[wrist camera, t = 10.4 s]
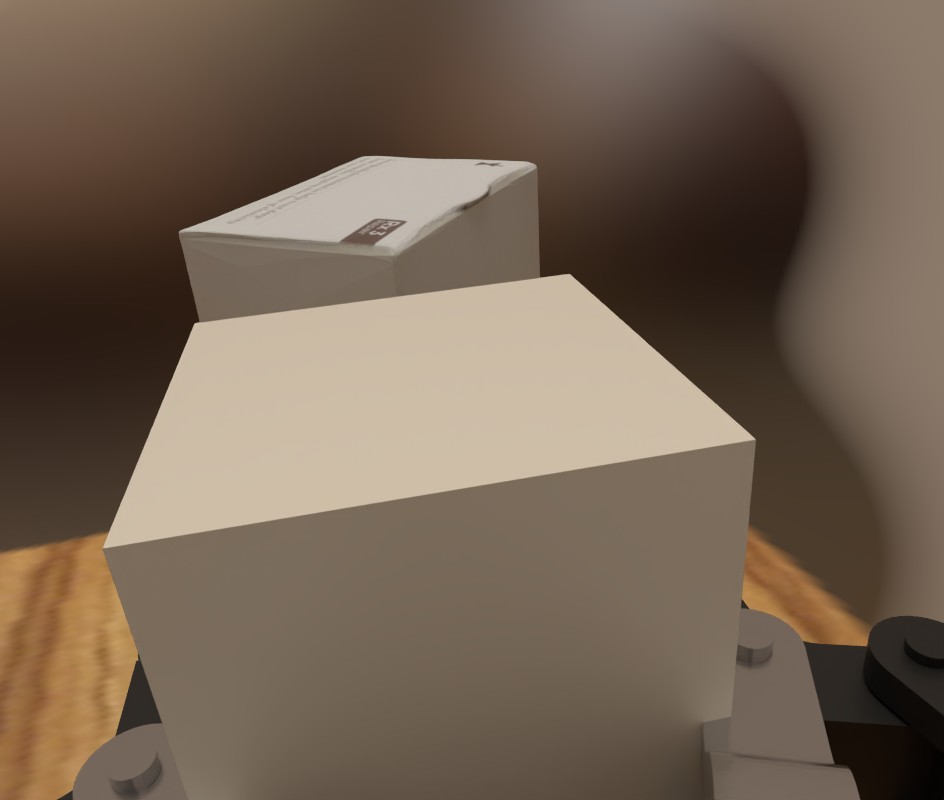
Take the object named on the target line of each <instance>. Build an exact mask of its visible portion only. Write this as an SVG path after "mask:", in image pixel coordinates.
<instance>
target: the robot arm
mask: <svg viewBox="0 0 944 800" xmlns="http://www.w3.org/2000/svg"><path fill="white" fill-rule="evenodd" d="M701 765H702V780H703V800H944V623H941V622H939V621H935V620H932V619H928V618H922V617H914V616H898V617H891V618H888V619H885V620H883V621H881V622H879V623H877V624H876V625H875V626H874V627H873V628H872V630H871V632H870V635H869V639H868V644H867V646H849V645H830V644H817V643H809V642H804V641H802V639H801V637H800V636H799V634H798V633H797V632H796V631H795V630H794V629H793V628H792V627H791V626H789V625H788V624H787V623H785V622H784V621H782V620H781V619H779V618H777V617H775V616H773V615H770V614H767V613H764V612H761V611H757V610H752V609H749V608H748V606H747V605H746V604H745V603H744V601H743V600H741V611H740V622H739V633H738V645H737V656H736V667H735V678H734V689H733V701H732V712H731V717H727V718H722V719H717V720H713V721H708V722H704V723H703V727H702V742H701ZM57 800H188V797H187V794H186V791H185V788H184V786H183V783H182V780H181V777H180V774H179V771H178V768H177V765H176V762H175V759H174V756H173V753H172V750H171V747H170V745H169V742H168V739H167V736H166V733H165V730H164V727H163V724H162V721H161V718H160V715H159V712H158V709H157V706H156V704H155V701H154V698H153V695H152V692H151V689H150V686H149V683H148V680H147V677H146V674H145V671H144V668H143V665H142V662H141V660H140V657H139V654H138V661H136V664H135V668H134V671H133V675H132V679H131V682H130V686H129V689H128V693H127V697H126V700H125V704H124V707H123V711H122V715H121V718H120V722H119V725H118V729H117V733H116V736H115V737H114V738H112V739H111V740H109V741H108V742H106V743H105V744H104V745H102V746H101V747H100V748H99V749H98V750H96V751H95V752H94V753H93V754H92V755H91V756H90V757H89V758H88V760H87V761H86V762H85V764H84V765H83V766H82V768H81V770H80V771H79V773H78V775H77V777H76V780H75V783H74V787H73V790H72V791H71V792H69V793H68V794H66V795H64V796H63V797H61V798H59V799H57Z"/></svg>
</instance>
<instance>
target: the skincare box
mask: <svg viewBox="0 0 944 800" xmlns="http://www.w3.org/2000/svg"><path fill="white" fill-rule="evenodd" d="M179 237H180V241H181V244H182V248H183V252H184V256H185V260H186V265H187V269H188V273H189V277H190V282H191V286H192V290H193V294H194V298H195V303H196V307H197V311H198V315H199V320H200V323H201V322H209V321H216V320H224V319H232V318H239V317H247V316H255V315H262V314H270V313H277V312H285V311H293V310H300V309H308V308H315V307H323V306H331V305H338V304H346V303H353V302H361V301H369V300H376V299H384V298H392V297H399V296H407V295H414V294H422V293H430V292H437V291H445V290H452V289H460V288H468V287H475V286H483V285H490V284H498V283H506V282H513V281H521V280H529V279H536V278H540V275H539V274H540V273H539V228H538V187H537V168H536V165H534V164H532V163H529V162H519V161H496V160H495V161H494V160H470V159H469V160H468V159H465V160H464V159H418V158H401V157H385V156H366V157H360V158H358V159H356V160H354V161H351V162H349V163H347V164H344V165H341V166H339V167H337V168H334V169H332V170H330V171H328V172H326V173H323V174H321V175H319V176H317V177H315V178H312V179H310V180H307V181H305V182H303V183H300V184H298V185H295V186H293V187H291V188H288V189H286V190H283V191H281V192H279V193H276V194H274V195H271V196H269V197H266V198H264V199H261V200H259V201H256V202H254V203H251V204H249V205H246V206H244V207H241V208H239V209H236V210H234V211H231V212H229V213H227V214H224V215H221V216H219V217H217V218H214V219H211V220H209V221H206V222H203V223H200V224H198V225H195V226H193V227H190V228H187V229H184V230H181V231H180V232H179Z"/></svg>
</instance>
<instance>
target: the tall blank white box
mask: <svg viewBox="0 0 944 800" xmlns="http://www.w3.org/2000/svg"><path fill="white" fill-rule="evenodd" d="M755 443H756V439H755V438H753V437H752V436H751V435H750V434H749V433H748V432H747V431H745V429H743V428H742V427H741V426H740V425H739V424H738V423H737V422H736V421H734V420H733V419H732V418H731V417H730V416H729V415H728V414H726V413H725V412H724V411H723V410H722V409H721V408H720V407H719V406H717V405H716V404H715V403H714V402H713V401H712V400H711V399H710V398H709V397H707V396H706V395H705V394H704V393H703V392H702V391H701V390H700V389H698V388H697V387H696V386H695V385H694V384H692V382H690V381H689V380H688V379H687V378H686V377H685V376H684V375H682V374H681V373H680V372H679V371H678V370H677V369H676V368H675V367H674V366H672V365H671V364H670V363H669V362H668V361H667V360H666V359H665V358H663V357H662V356H661V355H660V354H659V353H658V352H657V351H656V350H654V349H653V348H652V347H651V346H650V345H649V344H648V343H646V342H645V341H644V340H643V339H642V338H641V337H640V336H639V335H638V334H636V333H635V332H634V331H633V330H632V329H631V328H630V327H628V326H627V325H626V324H625V323H624V322H623V321H622V320H621V319H620V318H618V317H617V316H616V315H615V314H614V313H613V312H612V311H610V310H609V309H608V308H607V307H606V306H605V305H604V304H603V303H602V302H600V301H599V300H598V299H597V298H596V297H595V296H594V295H593V294H591V293H590V292H589V291H588V290H587V289H586V288H585V287H583V286H582V285H581V284H580V283H579V282H578V281H577V280H575V279H574V278H573V277H572V276H571V275H570V274H567V275H559V276H551V277H545V278H536V279H529V280H521V281H513V282H506V283H498V284H490V285H483V286H475V287H468V288H460V289H452V290H445V291H437V292H430V293H422V294H414V295H407V296H399V297H392V298H384V299H376V300H369V301H361V302H353V303H346V304H338V305H331V306H323V307H315V308H308V309H300V310H293V311H285V312H277V313H270V314H262V315H255V316H247V317H239V318H232V319H224V320H216V321H209V322H201V323H195V324H194V327H193V329H192V332H191V334H190V337H189V339H188V341H187V344H186V347H185V349H184V351H183V354H182V356H181V359H180V361H179V363H178V366H177V368H176V371H175V373H174V376H173V378H172V381H171V383H170V385H169V388H168V390H167V393H166V395H165V398H164V400H163V402H162V405H161V407H160V410H159V413H158V415H157V417H156V420H155V422H154V425H153V427H152V430H151V432H150V434H149V437H148V439H147V442H146V444H145V446H144V449H143V451H142V454H141V456H140V459H139V461H138V463H137V466H136V468H135V471H134V473H133V476H132V478H131V481H130V483H129V486H128V488H127V490H126V493H125V495H124V498H123V500H122V502H121V505H120V507H119V510H118V512H117V515H116V517H115V520H114V522H113V525H112V527H111V529H110V532H109V534H108V537H107V539H106V542H105V544H104V546H103V551H104V554H105V557H106V560H107V563H108V566H109V569H110V572H111V575H112V577H113V580H114V583H115V586H116V589H117V592H118V595H119V598H120V601H121V604H122V607H123V610H124V613H125V616H126V619H127V621H128V624H129V627H130V630H131V633H132V636H133V639H134V642H135V645H136V648H137V651H138V654H139V657H140V660H141V662H142V665H143V668H144V671H145V674H146V677H147V680H148V683H149V686H150V689H151V692H152V695H153V698H154V701H155V704H156V706H157V709H158V712H159V715H160V718H161V721H162V724H163V727H164V730H165V733H166V736H167V739H168V742H169V745H170V747H171V750H172V753H173V756H174V759H175V762H176V765H177V768H178V771H179V774H180V777H181V780H182V783H183V786H184V788H185V791H186V794H187V797H188V800H703V780H702V765H701V742H702V727H703V723H704V722H708V721H713V720H717V719H722V718H727V717H731V712H732V701H733V689H734V678H735V667H736V656H737V645H738V633H739V622H740V611H741V600H742V589H743V577H744V566H745V555H746V544H747V533H748V521H749V510H750V499H751V487H752V476H753V465H754V454H755Z"/></svg>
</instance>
